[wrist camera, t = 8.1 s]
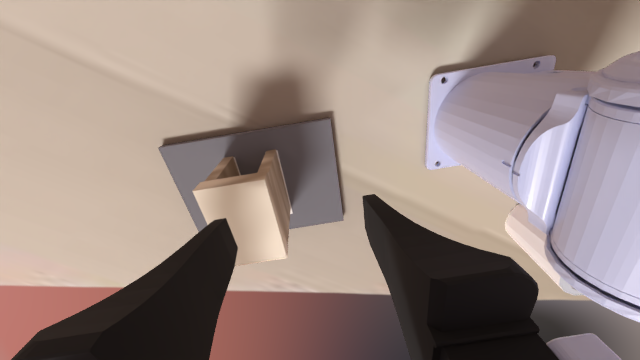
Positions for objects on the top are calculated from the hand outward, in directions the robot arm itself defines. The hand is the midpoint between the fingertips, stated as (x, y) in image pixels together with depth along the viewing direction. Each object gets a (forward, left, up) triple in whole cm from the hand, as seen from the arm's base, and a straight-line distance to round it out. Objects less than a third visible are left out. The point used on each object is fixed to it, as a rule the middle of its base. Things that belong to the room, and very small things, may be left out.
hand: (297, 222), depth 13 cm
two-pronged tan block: (+4, +2, -9) cm, 10 cm away
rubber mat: (+4, +2, -9) cm, 10 cm away
